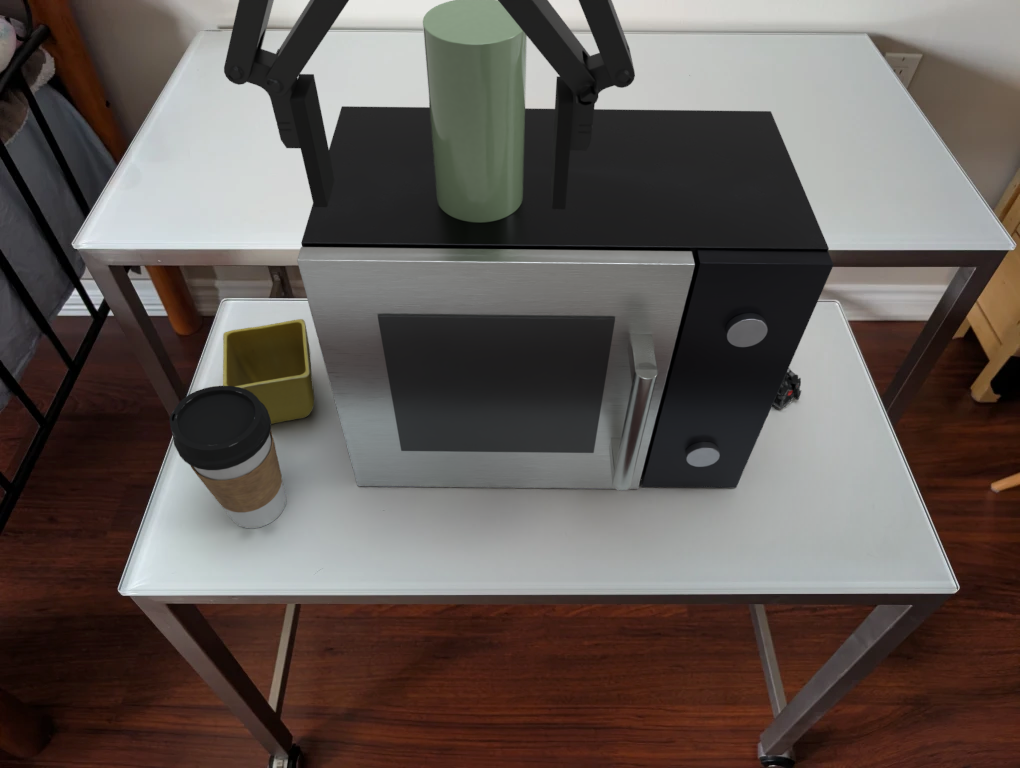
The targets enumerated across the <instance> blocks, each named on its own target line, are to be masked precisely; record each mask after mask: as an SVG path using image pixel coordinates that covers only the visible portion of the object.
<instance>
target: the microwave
mask: <svg viewBox="0 0 1020 768" xmlns="http://www.w3.org/2000/svg"><path fill="white" fill-rule="evenodd" d="M554 116H555V108H526V107H525V138H524V178H523V200H522V203H521V205H520V206H519V208H518V209H517V210H516V211H515V212H514V213H512V214H511V215H509V216H507V217H505V218H503V219H500V220H496V221H492V222H482V223H476V222H467V221H462V220H459V219H456V218H454V217H452V216H450V215H448V214H447V213H445V212H444V211H443V210H442V209H441V208H440V206H439V204H438V202H437V196H436V184H435V171H434V158H433V146H432V133H431V121H430V108H429V107H427V106H426V107H425V106H423V107H422V106H354V105H353V106H352V105H351V106H344V105H343V106H341V109H340V111H339V115H338V117H337V121H336V125H335V128H334V131H333V135H332V138H331V141H330V145H329V147H328V148H329V153H330V158H331V163H332V168H333V174H334V179H335V181H334V184H333V188H332V192H331V195H330V199H329V203H328V206H327V207H314V204H313V203H312V205H311V208H310V212H309V215H308V218H307V221H306V225H305V228H304V232H303V236H302V238H301V241H300V243H301V247H351V248H441V249H532V250H622V251H692V254H693V258H694V262H695V267H694V271H693V275H692V279H691V283H690V287H689V291H688V294H687V298H686V302H685V306H684V310H683V314H682V318H681V322H680V326H679V330H678V334H677V338H676V342H675V345H674V349H673V353H672V357H671V361H670V365H669V369H668V373H667V377H666V381H665V385H664V389H663V393H662V397H661V400H660V404H659V408H658V412H657V416H656V420H655V424H654V428H653V432H652V436H651V440H650V444H649V448H648V451H647V455H646V459H645V463H644V467H643V471H642V475H641V479H640V484H641V487H642V488H648V487H649V488H714V489H715V488H717V489H721V488H722V489H723V488H724V489H725V488H726V489H727V488H728V489H736V488H737V487H738V485H739V482H740V480H741V477H742V475H743V473H744V471H745V469H746V466H747V464H748V462H749V459H750V457H751V455H752V453H753V450H754V448H755V446H756V443H757V441H758V439H759V436H760V435H761V432H762V430H763V427H764V425H765V423H766V420H767V418H768V416H769V414H770V411H771V409H772V407H773V406H774V404H773V402H774V400H775V398H776V395H777V393H778V391H779V389H780V386H781V384H782V382H783V379H784V377H785V375H786V373H787V370H788V368H789V369H790V366H791V363H792V362H793V359H794V357H795V354H796V353H797V349H798V348H799V345H800V343H801V340H802V338H803V336H804V334H805V332H806V329H807V328H808V324H809V322H810V320H811V318H812V315H813V313H814V311H815V309H816V306H817V305H818V303H819V300H820V297H821V296H822V293H823V290H824V288H825V285H826V283H827V281H828V279H829V277H830V274H831V272H832V270H833V268H834V266H835V265H834V262H833V260H832V259H833V258H832V257H831V254H830V252H829V249H830V248H829V246H828V243H827V241H826V239H825V236H824V234H823V231H822V228H821V226H820V224H819V222H818V219H817V217H816V215H815V212H814V210H813V208H812V204H811V203H810V200H809V199H808V196H807V193H806V191H805V189H804V187H803V184H802V182H801V179H800V177H799V174H798V171H797V170H796V167H795V165H794V163H793V160H792V158H791V155H790V153H789V151H788V148H787V146H786V144H785V142H784V139H783V136H782V134H781V132H780V129H779V127H778V124H777V123H776V120H775V117H774V115H773V113H772V111H770V110H703V109H702V110H701V109H700V110H697V109H692V110H691V109H690V110H689V109H678V110H677V109H614V108H613V109H612V108H611V109H610V108H609V109H608V108H604V109H602V108H594V116H593V125H592V136H591V143H590V145H589V147H588V148H587V150H586V151H579V150H570V155H569V168H568V181H567V194H566V207H565V209H552V195H551V169H552V151H553V134H554Z"/></svg>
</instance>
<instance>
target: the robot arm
mask: <svg viewBox="0 0 1020 768" xmlns="http://www.w3.org/2000/svg"><path fill="white" fill-rule="evenodd" d="M349 1H350V0H309V1H308V2H307V4H306V5H305V8H304V9H303V10H302V12H301V13H300V15H299V16H298V18H297V20H296V21H295V23H294V25H293V26H292V28H291V29H290V31H289V32H288V34H287V35H286V37H285V39H284V40H283V42H282V44H281V45H280V47H279V48H277V50H276V53H275V52H272V51H270V50H265V49H263V44H264V40H265V36H266V34H267V33H266V32H267V28H268V24H269V20H270V17H271V13H272V9H273V5H274V2H275V0H238V3H237V7H236V11H235V12H236V13H235V17H234V20H233V21H234V22H233V25H232V30H231V34H230V39H229V44H228V48H227V51H226V57H225V61H224V66H223V73H224V76H225V78H226V79H228V81H229V82H231V83H232V84H234V85H238V86H240V85H245V84H246V83H248V84H252V85H255V86H257V87H260V88H261V89H263V90H264V92H266V93H267V95H268V96H269V100H270V103H271V107H272V111H273V114H274V119H275V122H276V125H277V130H278V135H279V138H280V142H282V144H283V146H284V147H285V149H300V152H301V156H302V162H303V164H304V169H305V173H306V177H307V182H308V186H309V187H308V188H309V190H310V195H311V199H312V205H313V204H314V207H327V206H328V203H329V199H330V195H331V192H332V188H333V184H334V181H335V179H334V174H333V168H332V163H331V158H330V153H329V148H330V147H329V144H328V138H327V134H326V129H325V125H324V119H323V114H322V108H321V104H320V103H321V102H320V98H319V93H318V90H317V84H316V79H315V78H316V77H315V74H314V73H302V72H303V70H304V68H305V67H306V66H307V64H308V62H309V61H310V59H311V58H312V56H313V55H314V54H315V52H316V51H317V49H318V48H319V46H320V44H322V42H323V40H324V39H325V37H326V35H327V34H328V32H329V31H330V29H331V28H332V27H333V25H334V24H335V22H336V20H337V19H338V18H339V16H340V14H341V13H342V12H343V10H344V9H345V7H346V6H347V4H348V2H349ZM498 1H499V2H500V3H501V4H502V6H503V7H504V8H505V9H506V11H507V12H508V13H509V14H510V16H511V17H512V18H513V19H514V20H515V22H516V23H517V24H518V25H519V27H520V28H521V29H522V30H523V32H524V33H525V34H526V35H527V39H529V40H530V42H531V43H532V44H533V46H534V47H535V48H536V49H537V50H538V52H539V53H540V54H541V55H542V56H543V58H544V59H545V60H546V61H547V63H548V64H549V65H550V66H551V67H552V69H553V70H554V71H555V72H556V74H557V75H558V76H556V82H555V100H554V109H555V116H554V134H553V151H552V169H551V195H552V209H565V207H566V194H567V181H568V168H569V155H570V150H579V151H586V150H587V148H588V147H589V145H590V143H591V136H592V125H593V116H594V109H595V106H596V105H595V104H596V103H597V101H598V99H599V94H600V93H601V92H602V91H604V90H605V89H608V88H612V87H617V88H620V89H621V88H622V89H623V88H628V87H629V86H630V85H631V84H632V83H633V82H634V81H635V77H636V73H635V67H634V63H633V58H632V54H631V49H630V46H629V42H628V40H627V38H626V35H625V32H624V30H623V27H622V24H621V21H620V19H619V17H618V13H617V10H616V9H615V5H614V3H613V0H578V3H579V5H580V7H581V10H582V13H583V15H584V17H585V20H586V22H587V25H588V28H589V29H590V32H591V35H592V36H593V39H594V42H595V44H596V47H597V49H598V52H597V53H595V54H591V55H590V54H589V52H588V51H587V50H586V48H585V47H584V46H583V45H582V43H581V42H580V40H579V39H578V38H577V36H575V34H574V32H573V31H572V30H571V29H570V28H569V26H568V25H567V24H566V22H565V20H563V18H562V17H561V16H560V14H559V13H558V12H557V10H556V9H555V8H554V6H553V5H552V3H550V1H549V0H498Z"/></svg>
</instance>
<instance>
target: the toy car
mask: <svg viewBox="0 0 1020 768" xmlns="http://www.w3.org/2000/svg"><path fill="white" fill-rule="evenodd" d="M801 380H802V378H801V377H799V375H798V374H796V373H795V372H793V371H792V370H791V368H790V367H789V368H788V370H787V373H786V375H785V377H784V379H783V382H782V384H781V386H780V389H779V391H778V393H777V395H776V398H775V400H774V402H773V406H775V407H776V408H778V409H780V410H783V409H784V408H786V406H787V405H788V404H789V403H791V402H792V400H793V399H795V400H797V401H799V399H800V397H801V395H802V390H801V389H800V388H801V385H802V384H801V383H802V381H801Z"/></svg>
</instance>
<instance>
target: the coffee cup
mask: <svg viewBox="0 0 1020 768" xmlns="http://www.w3.org/2000/svg"><path fill="white" fill-rule="evenodd" d="M169 427H170V431H171V434H172V437H173V438H172V439H173V444H174V447H175V450H176V451H177V454H178V455H179V457H180V458H181V459H182V460H183V461H184V462H185V463H186V464H188V465H189V466H190V468H191V469H192V471H193V472H194V474H195V475H196V476H197V477H198V478H199V480H200V481H201V482H202V483H203V485H204V486H205V487H206V488H207V490H208V491H209V493H210V494H212V496H213V498H214V499H215V500H216V501H217V503H218V504H219V505H220V507H222V509H223V510H224V512H225V513H226V514H227V516H228V517H229V518H230V520H232V521H233V524H236V525H237V526H238V527H242V528H246V529H258V528H262V527H265V526H267V525H269V524H271V523H273V522H274V521H275V520H277V519H278V518H279V517H280V516H281V514H282V513H283V511H284V509H285V508H286V504H287V493H286V489H285V485H284V482H283V478H282V477H283V476H282V475H283V474H282V471H281V466H280V463H279V458H278V453H277V449H276V445H275V440H274V435H273V431H272V424H271V419H270V416H269V413H268V410H267V409H266V407H265V405H264V404H263V403H262V402H260V401H259V399H258V398H257V397H256V396H255V395H254V394H253V393H252V392H250V391H248V390H246V389H243V388H240V387H235V386H223V385H215V386H214V385H213V386H209V387H203V388H201V389H198V390H196V391H193V392H191V393H189V394H188V395H187V396H185V397H183V398H182V400H180V401H179V402H178V404H177V405H176V406H175V407H174V409H173V410H172V412H171V414H170V415H169Z"/></svg>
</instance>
